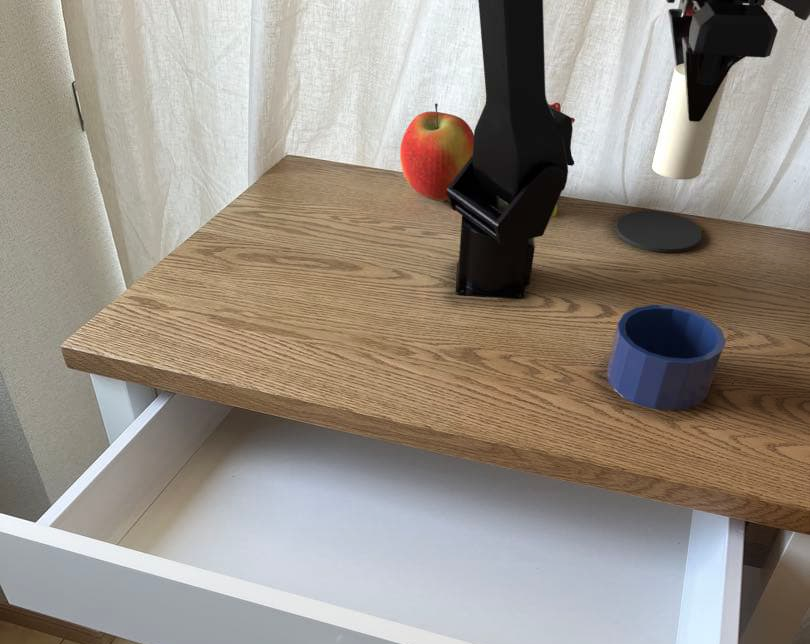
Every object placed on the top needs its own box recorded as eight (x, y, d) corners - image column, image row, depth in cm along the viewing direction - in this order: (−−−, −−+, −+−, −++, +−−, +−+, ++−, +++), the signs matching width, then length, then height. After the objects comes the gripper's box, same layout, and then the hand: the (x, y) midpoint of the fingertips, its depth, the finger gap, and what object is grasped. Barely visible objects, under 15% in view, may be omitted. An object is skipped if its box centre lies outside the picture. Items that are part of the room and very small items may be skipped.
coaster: (620, 250, 85) (621, 246, 85) (611, 211, 92) (612, 208, 91) (708, 255, 85) (709, 251, 85) (693, 216, 91) (694, 212, 91)
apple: (487, 196, 94) (496, 102, 86) (439, 219, 89) (444, 121, 82) (434, 175, 97) (438, 82, 90) (386, 195, 93) (386, 100, 86)
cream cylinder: (655, 178, 81) (688, 40, 73) (648, 158, 84) (679, 25, 76) (704, 181, 81) (743, 43, 72) (696, 161, 84) (732, 27, 76)
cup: (611, 411, 66) (624, 358, 63) (601, 353, 72) (613, 301, 69) (715, 418, 66) (734, 365, 62) (697, 359, 72) (714, 307, 68)
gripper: (878, -64, 61) (800, 154, 72) (811, -109, 74) (754, 82, 85) (725, -71, 61) (671, 147, 72) (685, -114, 74) (645, 77, 85)
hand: (690, 111), depth 79 cm, fingers closed on cream cylinder, 5 cm apart
